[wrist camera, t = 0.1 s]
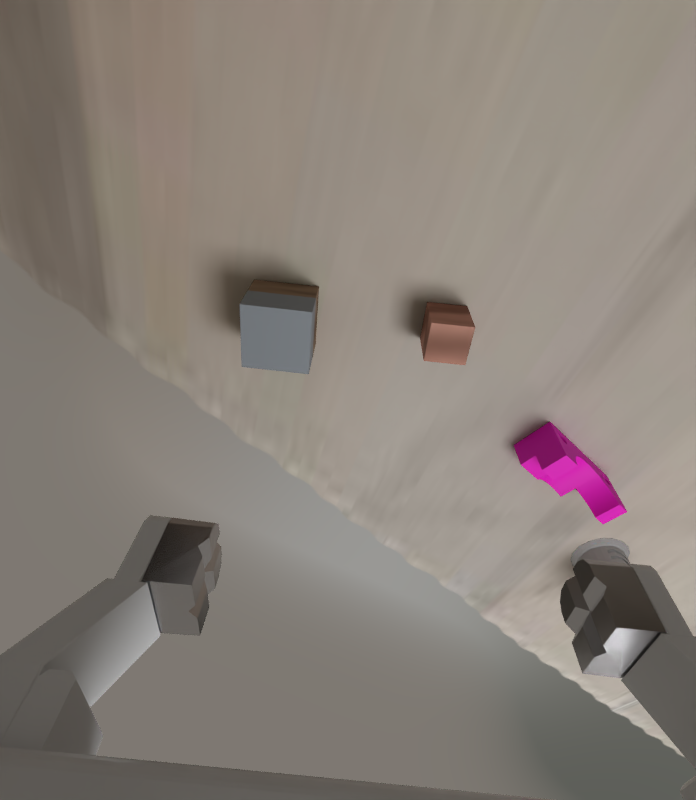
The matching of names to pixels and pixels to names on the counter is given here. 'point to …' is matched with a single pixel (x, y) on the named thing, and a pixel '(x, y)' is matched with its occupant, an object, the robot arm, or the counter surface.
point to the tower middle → (277, 331)
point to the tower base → (288, 293)
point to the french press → (602, 551)
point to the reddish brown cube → (446, 333)
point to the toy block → (568, 471)
